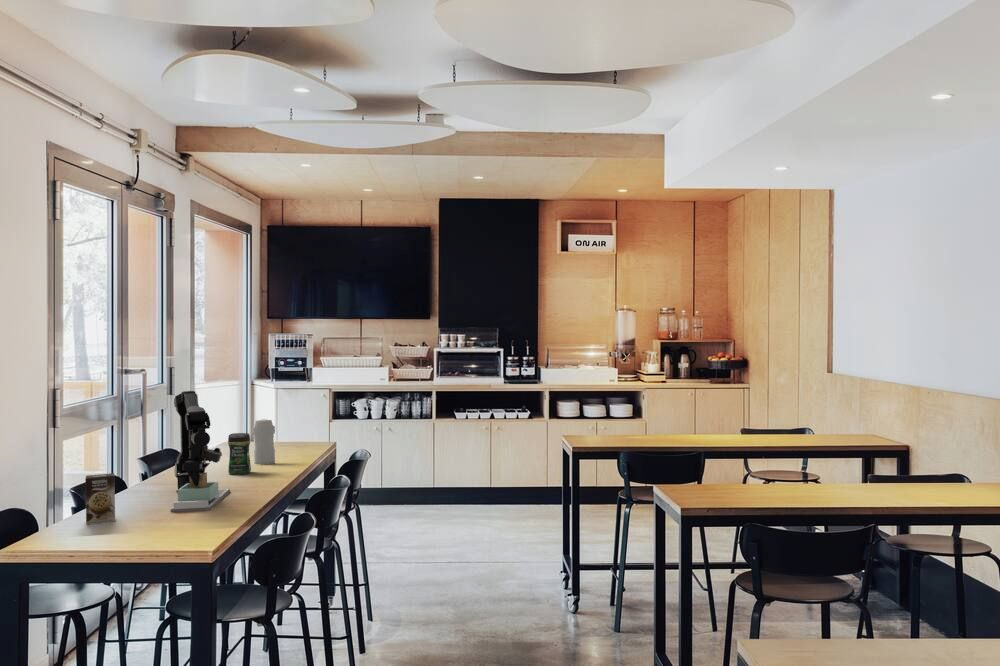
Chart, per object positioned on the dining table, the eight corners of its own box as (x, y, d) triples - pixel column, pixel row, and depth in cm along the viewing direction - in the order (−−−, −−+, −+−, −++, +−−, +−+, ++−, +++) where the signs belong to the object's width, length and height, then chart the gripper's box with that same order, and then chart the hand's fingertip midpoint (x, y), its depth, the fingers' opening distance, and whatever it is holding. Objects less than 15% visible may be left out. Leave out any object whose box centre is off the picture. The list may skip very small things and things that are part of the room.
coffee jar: (226, 475, 340) (225, 434, 340) (232, 472, 348) (230, 432, 348) (248, 474, 340) (246, 434, 340) (253, 471, 348) (251, 431, 348)
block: (189, 488, 282) (189, 475, 282) (193, 486, 287) (193, 473, 287) (203, 488, 283) (203, 475, 283) (207, 485, 288) (206, 472, 288)
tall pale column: (252, 465, 364) (251, 420, 363) (254, 463, 368) (253, 419, 367) (275, 464, 365) (273, 419, 364) (276, 462, 369) (275, 418, 368)
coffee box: (86, 525, 258) (84, 478, 258) (86, 520, 264) (85, 475, 264) (115, 521, 262) (114, 475, 262) (115, 517, 268) (114, 472, 268)
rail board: (170, 512, 273) (170, 502, 273) (194, 493, 303) (194, 485, 303) (210, 510, 275) (210, 500, 275) (230, 491, 305) (230, 483, 305)
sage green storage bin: (178, 505, 278) (177, 489, 278) (187, 498, 290) (187, 483, 290) (210, 504, 280) (210, 488, 280) (218, 496, 291) (218, 481, 291)
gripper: (212, 446, 277) (214, 488, 277) (225, 438, 295) (226, 478, 295) (181, 447, 275) (182, 490, 275) (195, 440, 294) (197, 479, 294)
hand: (198, 484), depth 285 cm, fingers closed on block, 5 cm apart
